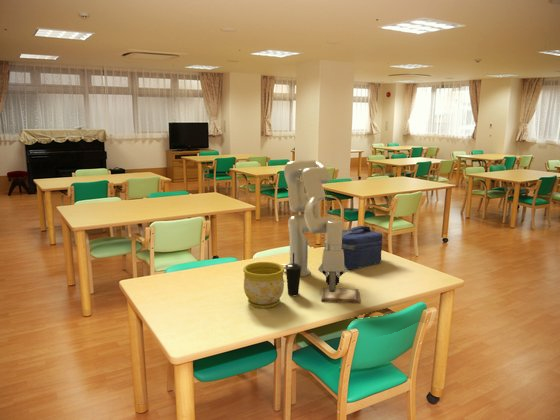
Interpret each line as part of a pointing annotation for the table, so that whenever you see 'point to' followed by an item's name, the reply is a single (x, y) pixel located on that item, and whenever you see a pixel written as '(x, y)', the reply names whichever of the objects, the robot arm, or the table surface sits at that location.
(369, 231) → the lunch bag
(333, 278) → the translucent bottle
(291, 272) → the drinking cup
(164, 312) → the table surface
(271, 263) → the flowerpot
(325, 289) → the board
